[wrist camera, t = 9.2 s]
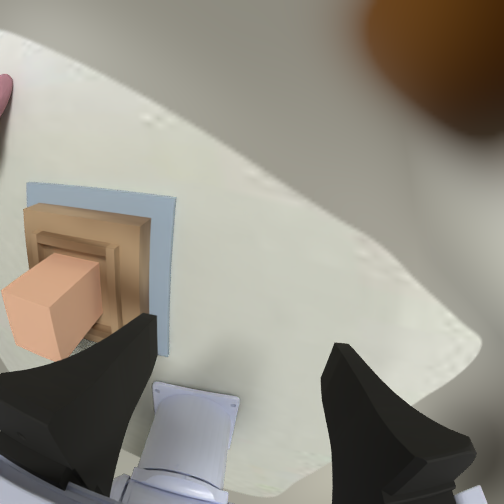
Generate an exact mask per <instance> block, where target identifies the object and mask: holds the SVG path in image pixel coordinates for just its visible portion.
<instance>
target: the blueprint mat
mask: <svg viewBox="0 0 504 504" xmlns="http://www.w3.org/2000/svg"><path fill="white" fill-rule="evenodd" d="M37 203H46V204H53V205H61V206H69V207H76V208H84V209H91V210H98V211H106V212H113V213H120V214H127V215H134V216H141V217H148V218H151V233H150V262H149V314H152V315H157V341H158V355H161V356H165V357H168V355H169V310H170V281H171V261H172V245H173V231H174V218H175V206H176V197H170V196H162V195H154V194H146V193H138V192H129V191H121V190H112V189H102V188H93V187H83V186H72V185H61V184H50V183H37V182H28V183H27V207H30V206H32V205H35V204H37Z"/></svg>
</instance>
